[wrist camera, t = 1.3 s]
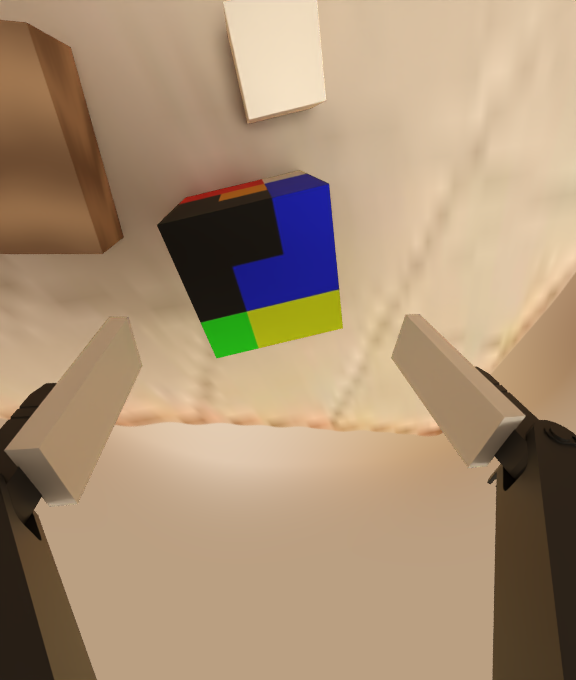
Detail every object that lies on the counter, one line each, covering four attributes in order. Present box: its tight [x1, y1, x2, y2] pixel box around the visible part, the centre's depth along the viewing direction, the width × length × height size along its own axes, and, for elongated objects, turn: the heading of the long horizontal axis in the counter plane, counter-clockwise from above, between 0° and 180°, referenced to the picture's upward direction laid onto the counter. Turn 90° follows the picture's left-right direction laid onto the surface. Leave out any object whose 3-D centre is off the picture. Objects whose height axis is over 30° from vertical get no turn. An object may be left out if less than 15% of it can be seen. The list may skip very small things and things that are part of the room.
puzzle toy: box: [157, 170, 343, 358], centre depth 23 cm, size 10×10×10 cm
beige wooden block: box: [223, 0, 326, 124], centre depth 18 cm, size 5×5×5 cm
